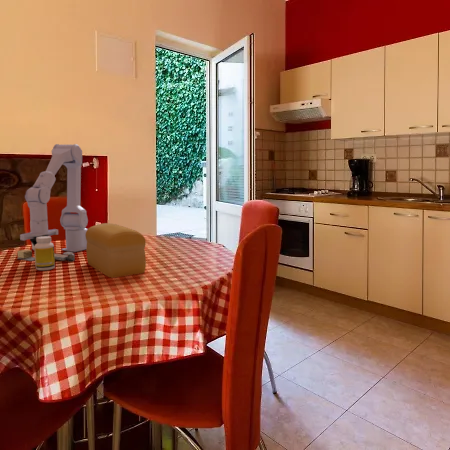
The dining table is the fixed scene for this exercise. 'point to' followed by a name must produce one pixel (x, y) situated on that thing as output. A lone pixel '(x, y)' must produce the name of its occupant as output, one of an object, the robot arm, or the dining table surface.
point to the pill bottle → (44, 253)
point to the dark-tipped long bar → (68, 257)
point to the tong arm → (61, 256)
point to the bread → (115, 250)
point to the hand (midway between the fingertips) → (41, 256)
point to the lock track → (28, 258)
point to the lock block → (25, 253)
